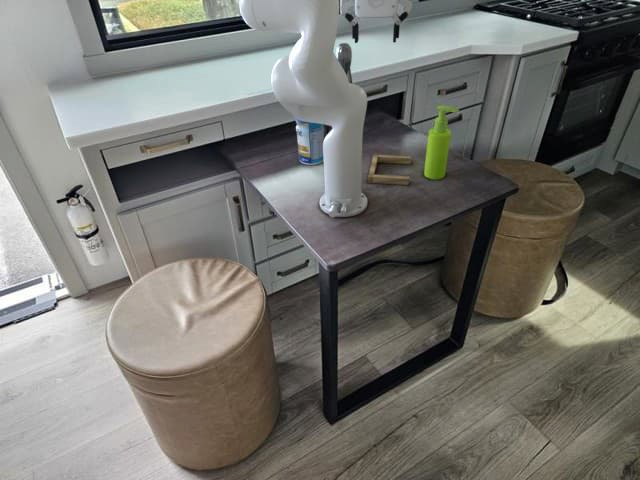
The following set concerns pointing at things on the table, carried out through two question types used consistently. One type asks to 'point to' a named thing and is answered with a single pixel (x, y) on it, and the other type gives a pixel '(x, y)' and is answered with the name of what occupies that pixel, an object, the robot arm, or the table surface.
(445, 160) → the soap dispenser
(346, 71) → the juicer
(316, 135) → the blue labeled canister
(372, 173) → the holder
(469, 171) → the table surface
